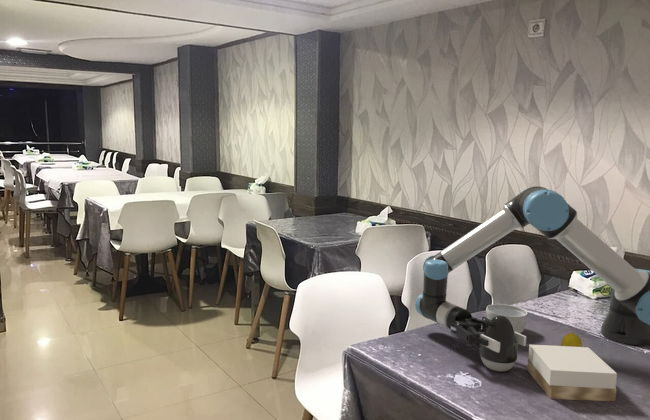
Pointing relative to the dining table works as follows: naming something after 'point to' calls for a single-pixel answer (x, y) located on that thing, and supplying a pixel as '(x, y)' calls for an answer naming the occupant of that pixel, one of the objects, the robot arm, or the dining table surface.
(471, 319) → the robot arm
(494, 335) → the pump dispenser
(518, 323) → the ramekin
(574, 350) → the tower top
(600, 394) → the tower base
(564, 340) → the lemon
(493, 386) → the dining table surface
